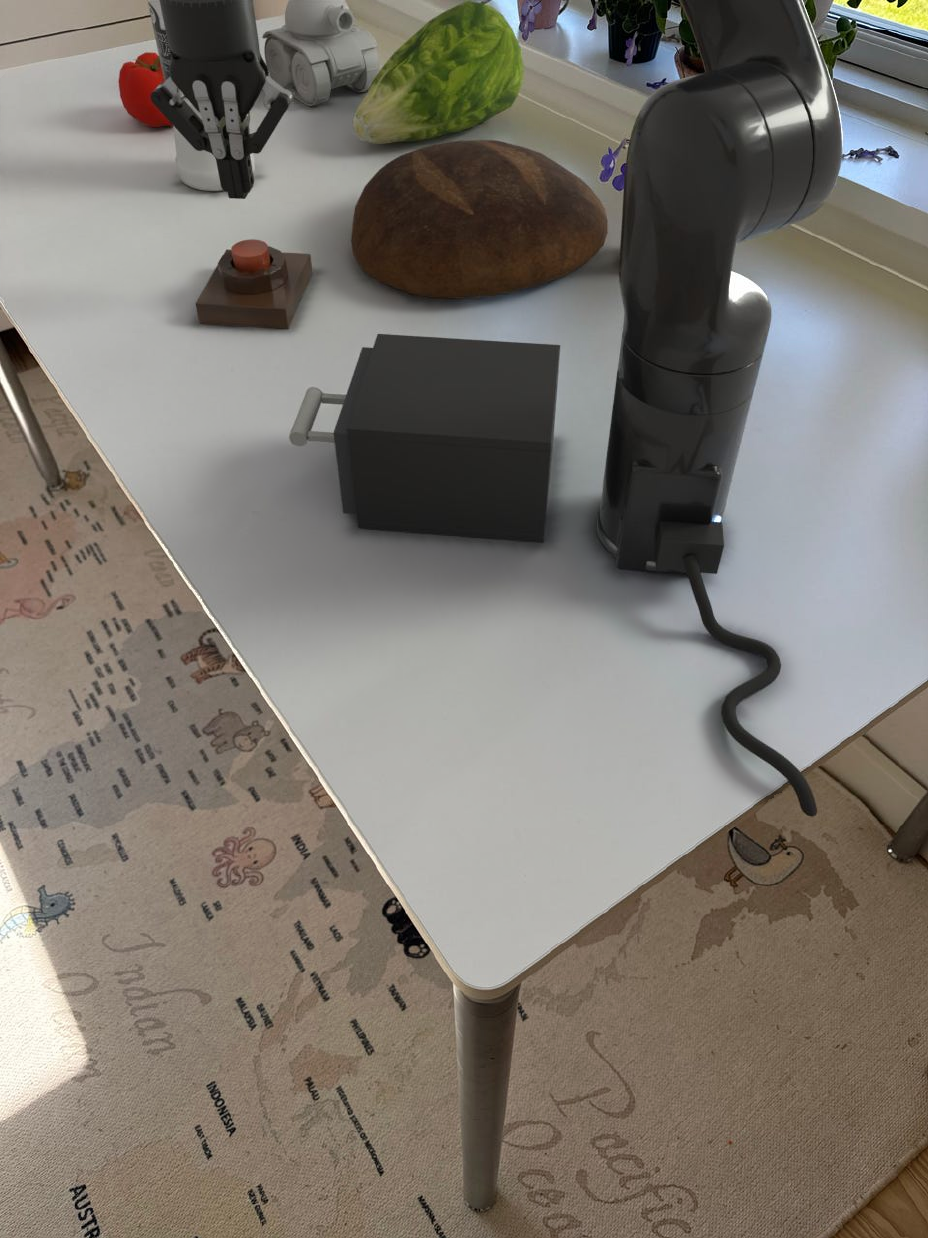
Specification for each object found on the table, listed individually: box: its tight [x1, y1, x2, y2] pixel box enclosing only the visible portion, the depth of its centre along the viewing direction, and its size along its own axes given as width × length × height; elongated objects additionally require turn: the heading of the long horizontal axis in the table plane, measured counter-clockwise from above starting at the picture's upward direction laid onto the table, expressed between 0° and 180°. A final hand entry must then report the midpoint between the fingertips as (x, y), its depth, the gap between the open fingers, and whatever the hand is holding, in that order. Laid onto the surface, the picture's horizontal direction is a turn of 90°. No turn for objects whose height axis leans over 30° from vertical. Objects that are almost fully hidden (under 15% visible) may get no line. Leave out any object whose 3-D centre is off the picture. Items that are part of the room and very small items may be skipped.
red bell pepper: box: [118, 51, 173, 128], centre depth 131 cm, size 9×9×8 cm
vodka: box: [146, 0, 257, 192], centre depth 111 cm, size 9×9×30 cm
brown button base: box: [195, 245, 314, 330], centre depth 101 cm, size 11×9×4 cm
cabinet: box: [347, 333, 561, 544], centre depth 79 cm, size 15×13×10 cm
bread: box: [350, 139, 609, 299], centre depth 107 cm, size 28×27×9 cm
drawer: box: [288, 346, 373, 515], centre depth 79 cm, size 18×11×8 cm, turn 83°
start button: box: [230, 238, 271, 272], centre depth 99 cm, size 4×4×2 cm
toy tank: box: [261, 0, 381, 107], centre depth 136 cm, size 15×11×13 cm
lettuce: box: [352, 0, 525, 145], centre depth 126 cm, size 14×23×13 cm, turn 126°
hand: (239, 194), depth 95 cm, fingers closed
